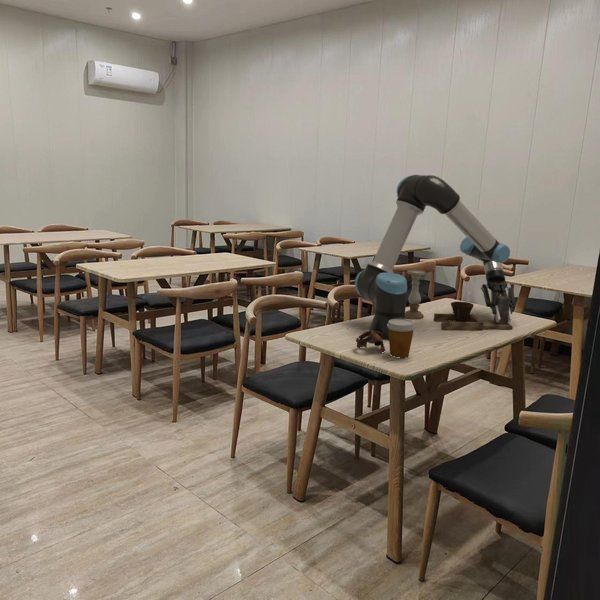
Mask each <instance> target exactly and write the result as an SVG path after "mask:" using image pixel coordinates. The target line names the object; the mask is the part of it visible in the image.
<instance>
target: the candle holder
mask: <svg viewBox="0 0 600 600" xmlns="http://www.w3.org/2000/svg"><path fill="white" fill-rule="evenodd" d="M406 272H407V274H408V275H411V276H410V277H411V279H412V281H411V283H410V284H411V292H410V293H409V295H408V302H409V304H408V307H409V310H407V311H406V310H405V318H406V319H409V318H411V320H421V318H422V319H424V317H425V315H424V314H423V312H422V311H419V308H420V307H421V305H420V304H421V301H422V297H421V294H420V291H419V290H420V289H419V288H420V287H419V286H420V285H421V282H420V279H421V277H422V275H423V276H424V275H426V271H424V270H420V269H410V270H407V271H406Z"/></svg>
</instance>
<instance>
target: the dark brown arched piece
mask: <svg viewBox="0 0 600 600" xmlns="http://www.w3.org/2000/svg"><path fill="white" fill-rule="evenodd" d="M355 342H356V348H358V349H359V348H360V347H361V348H363V347H364V348H365V349H367V346H368V345H367V344H373V345H374V346H376V347H380V348H379V351H380V354H381V353H382V352H384V351H385V352H386V348H385V345H384V342H383V339H382V334H381V332H379V331H376V332H374V331H372V330H371V331H369V330H367V331H365V332H363V333H361V334H359V336H358V337H357V338H355ZM361 348H360V349H361ZM385 352H384V353H385Z"/></svg>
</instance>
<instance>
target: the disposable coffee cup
mask: <svg viewBox="0 0 600 600" xmlns="http://www.w3.org/2000/svg"><path fill="white" fill-rule="evenodd" d="M387 326H388V332H389V340H388V343H389V345H388V346H389V355H390V354H391V355H392V356H395V357H400V358H399V359H401V358H402V359H406V358H405V357H407V358H409V357H410V351H411V345H412V341H413V336H414V331H415V328H416V325H415V322H414V321H413V320H412V319H411V320H410V319H407V318H406V319H392V320H389V322H388V324H387ZM392 356H391V357H392Z"/></svg>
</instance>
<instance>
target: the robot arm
mask: <svg viewBox="0 0 600 600" xmlns="http://www.w3.org/2000/svg"><path fill="white" fill-rule="evenodd" d="M396 194H397V195H396V197H397V199H396V201H395V203H396V206H397V208H396V210H395V212H394V215H393V217H392V218H391V221H390V224H389V226H388V227H387V229H386V232H385V234H384V236H383V238H382V241H381V243H380V244H379V248H377V249H378V250H377V252H376V254H375V256H374V258H373V260H372V261H371V262H367V264H366V266H365V269H363V270H361V271H359V273H357V275H356V277H355V280H354V288H355V291H356V293H357V294H358V296H360V297H361V298H363V299H365V300H367V301H369V302H371V303H374V314H373V317H372V320H371V323H370V326H369V328H368V331H371V330H372V331H374V332H376V331H379V332H381V334H382V340H386V339H389V332H388V326H387V324H388V322H389V320H392V319H406V320H407V318H406V317H405V313H406V307H407V304H406V303H407V292H408V291H407V290H408V281H407V278H406V277H405V276H403V275H401V274H399V273H394V271H393V269H394V267H395V265H396V263H397V261H398V259H399V256H400V254H401V252H402V250H403V248H404V245H405V244H406V241H407V239H408V237H409V234H410V232H411V231H412V228H413V225H414V224H415V221H416V219H417V218H418V216H419V215H422V214H423V213H424V211H425V209H426V207H427V206H428V207H431V208H433V209H435V210H436V211H438V212H439V214H441V215H445V216H446V217H447V218H448V219H449V220H450V221H451V222H452V224H454V225H455V226H456V228H458V229H459V230H460V232H461V233H463V235H464V236H465V237H464V238H463V239H462V241H461V242H460V245H459V250H460V252H462V253H463V254H465V255H466V256H469V257H472V258H474V259H476V260H479V261H482V264H483V270H484V274H485V280H486V284H484V283H483V284H481V287H480V289H481V291H482V293H483V297H484V298H483V299H484V302H485V306H486V308H490V310H491V313H492V315H494V314H495V317H496V322H499V321H500V315H499V310H498V305H496V296H497V293H498V294H499V296H507V297H508V298H510V306H509V315H508V323H509V324H510V323H511V321H512V320H513V318H512V317H513V315H512V314H513V308H514V307H515V306H516V304H517V303H516V298H515V297H516V296H515V293H514V287H515V285H514V284H511V285H510V284H508V283H507V282H506V277H505V273H504V267H503V264H502V263H505V262H506V261H508V259H509V258H510V255H511V249H510V247H509V246H508V245H507V244H505V243H500V242H499V241H498V240H497V239H496V238H495V237H494V236H493V234H492V233H491V232H489V230H488V229H487V228H486V227H485V226H484V225H483V223H481V221H479V219H478V218H476V216H475V215H474V214H473V213H472V212H471V211H470V210H469V208H468V207H466V205H465V204H464V203H463V202H462V201H461V197H460V194H459V193H458V192H456V191H455V190H454V188H453V187H452V186H451V185H449V184H448V183H447V182H446V180H445V181H444V180H443V179H442V178H440V177H439V176H436V175H434V174H433V175H431V174H429V175H422V174H421V175H420V174H412V175H408V176H407V175H406V177H404V178H402V179H401V181H400V182H399V183H398V184H397V187H396ZM489 290H490V291H491V292H490V291H489ZM507 291H508V293H507ZM489 292H490V294H491V297H490V294H489ZM495 305H496V306H495Z"/></svg>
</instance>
